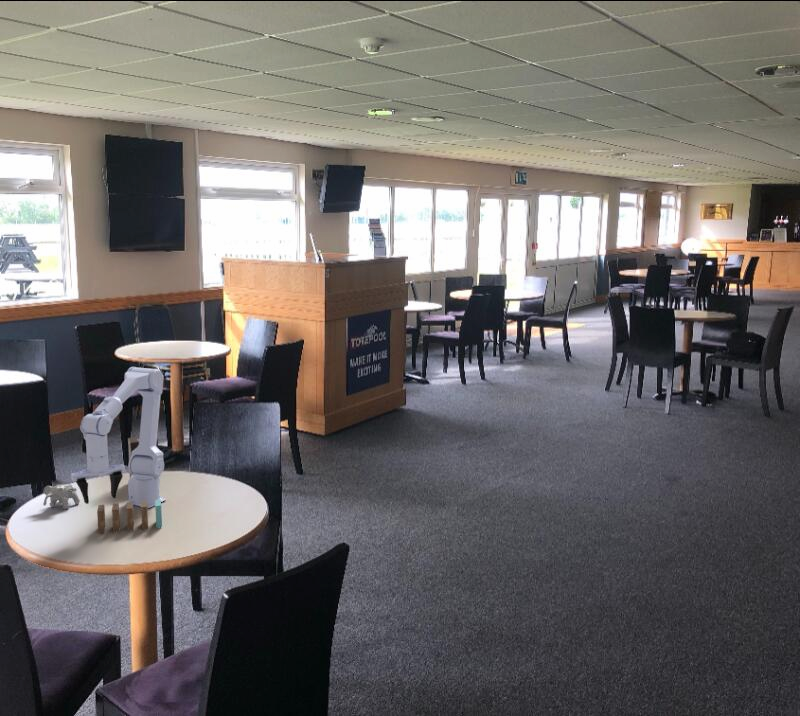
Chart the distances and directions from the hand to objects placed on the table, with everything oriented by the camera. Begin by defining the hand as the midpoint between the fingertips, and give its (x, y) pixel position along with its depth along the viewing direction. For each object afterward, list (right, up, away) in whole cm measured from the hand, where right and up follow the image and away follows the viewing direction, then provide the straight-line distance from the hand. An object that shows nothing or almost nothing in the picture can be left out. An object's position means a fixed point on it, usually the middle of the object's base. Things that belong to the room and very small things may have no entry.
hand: (100, 499), depth 220 cm
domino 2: (+4, -9, +3) cm, 10 cm away
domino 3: (+7, -9, +4) cm, 12 cm away
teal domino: (+15, -9, +7) cm, 19 cm away
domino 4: (+11, -9, +5) cm, 15 cm away
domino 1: (0, -9, +2) cm, 10 cm away
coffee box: (0, -2, +40) cm, 40 cm away
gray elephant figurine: (-19, -6, +18) cm, 27 cm away
